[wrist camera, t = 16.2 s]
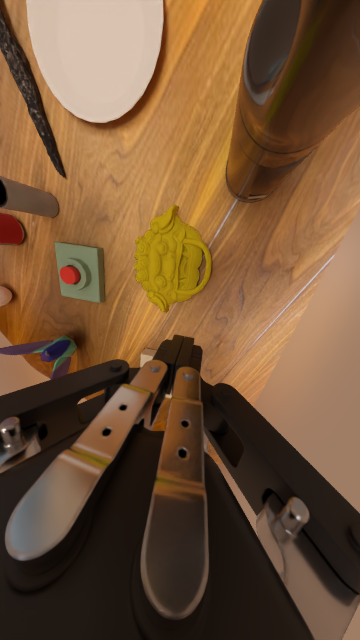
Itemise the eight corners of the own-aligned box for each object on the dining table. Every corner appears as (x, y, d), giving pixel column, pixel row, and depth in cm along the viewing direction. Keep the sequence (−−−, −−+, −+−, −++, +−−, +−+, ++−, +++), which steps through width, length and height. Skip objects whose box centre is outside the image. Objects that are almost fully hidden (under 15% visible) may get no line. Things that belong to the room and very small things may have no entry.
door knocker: (224, 275, 37) (225, 278, 33) (164, 313, 42) (159, 320, 38) (178, 200, 33) (174, 193, 29) (119, 252, 39) (109, 252, 35)
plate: (176, 110, 29) (173, 99, 27) (67, 144, 33) (57, 137, 31) (153, -119, 21) (147, -158, 19) (18, -37, 26) (1, -61, 24)
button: (64, 264, 38) (58, 265, 37) (80, 267, 38) (74, 268, 36) (66, 281, 40) (60, 282, 38) (81, 284, 39) (76, 285, 38)
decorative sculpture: (118, 344, 48) (80, 382, 34) (81, 374, 55) (36, 417, 41) (71, 295, 45) (8, 316, 31) (38, 334, 52) (-26, 364, 38)
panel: (145, 347, 47) (140, 354, 44) (182, 355, 46) (180, 362, 43) (143, 383, 51) (138, 391, 48) (176, 391, 50) (174, 399, 47)
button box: (62, 242, 40) (47, 241, 37) (103, 248, 39) (91, 248, 35) (68, 293, 45) (55, 297, 41) (105, 300, 44) (95, 305, 40)
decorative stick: (-17, -42, 27) (59, 181, 36) (-66, -101, 23) (34, 170, 31) (-5, -58, 26) (71, 175, 35) (-53, -122, 22) (46, 163, 30)
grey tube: (40, 214, 39) (-15, 203, 29) (39, 190, 37) (-21, 169, 28) (59, 219, 38) (9, 210, 29) (58, 195, 37) (5, 176, 27)
